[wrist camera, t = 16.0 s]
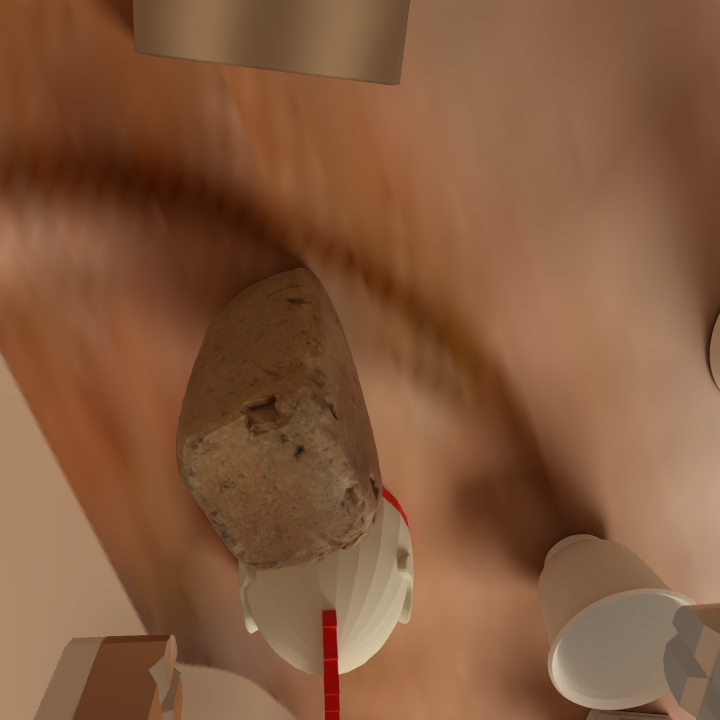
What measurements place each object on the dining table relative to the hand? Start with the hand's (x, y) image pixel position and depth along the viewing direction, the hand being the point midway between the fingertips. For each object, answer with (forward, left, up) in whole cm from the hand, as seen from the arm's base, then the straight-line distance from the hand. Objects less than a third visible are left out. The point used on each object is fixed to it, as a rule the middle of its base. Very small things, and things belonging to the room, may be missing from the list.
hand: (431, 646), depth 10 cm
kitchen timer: (+1, +26, -34) cm, 43 cm away
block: (+3, +8, -34) cm, 35 cm away
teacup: (-22, +30, -34) cm, 51 cm away
